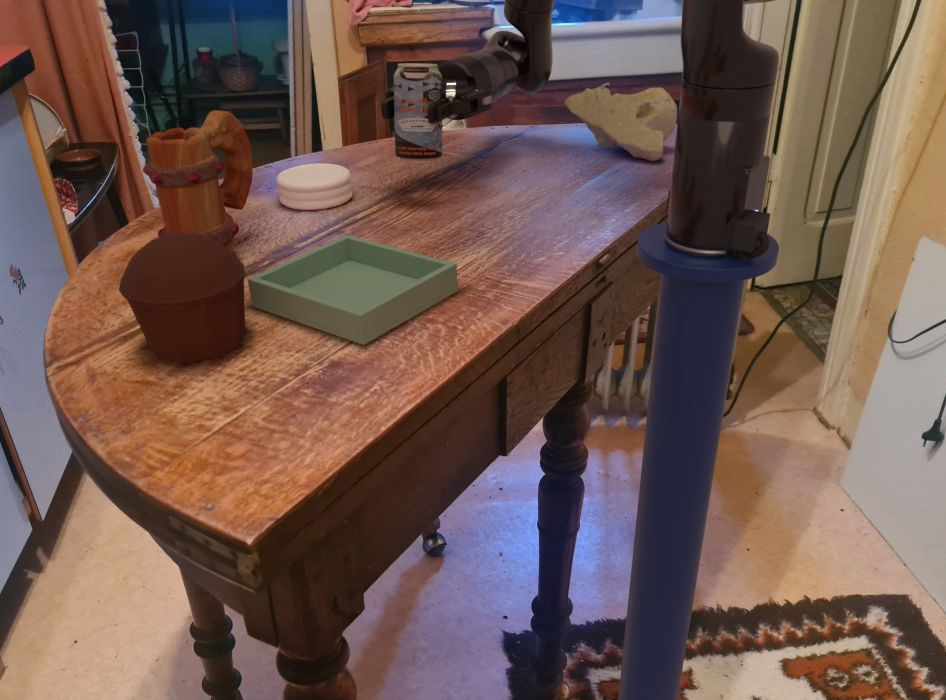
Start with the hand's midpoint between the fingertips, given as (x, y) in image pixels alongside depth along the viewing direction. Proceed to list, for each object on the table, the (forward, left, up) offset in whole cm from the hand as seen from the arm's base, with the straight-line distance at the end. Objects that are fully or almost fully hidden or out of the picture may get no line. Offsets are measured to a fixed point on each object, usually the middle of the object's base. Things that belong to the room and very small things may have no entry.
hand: (407, 112), depth 106 cm
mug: (+10, +25, -12) cm, 29 cm away
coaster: (+14, +5, -12) cm, 19 cm away
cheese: (-10, -35, -12) cm, 39 cm away
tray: (-13, +26, -12) cm, 31 cm away
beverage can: (0, -2, -7) cm, 7 cm away
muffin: (-7, +41, -12) cm, 43 cm away
